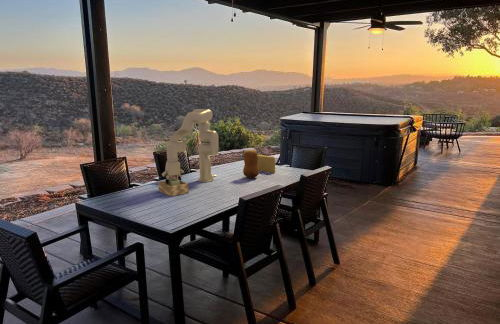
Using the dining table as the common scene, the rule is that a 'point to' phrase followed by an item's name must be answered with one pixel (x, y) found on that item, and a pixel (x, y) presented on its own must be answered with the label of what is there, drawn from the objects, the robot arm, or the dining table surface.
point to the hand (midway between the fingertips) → (173, 182)
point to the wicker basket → (173, 188)
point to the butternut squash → (250, 164)
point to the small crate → (173, 182)
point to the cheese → (266, 163)
